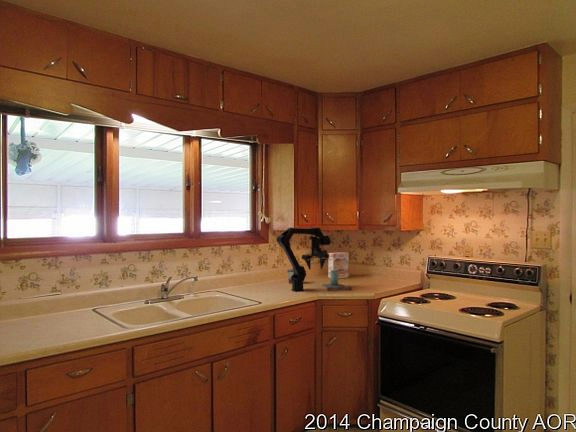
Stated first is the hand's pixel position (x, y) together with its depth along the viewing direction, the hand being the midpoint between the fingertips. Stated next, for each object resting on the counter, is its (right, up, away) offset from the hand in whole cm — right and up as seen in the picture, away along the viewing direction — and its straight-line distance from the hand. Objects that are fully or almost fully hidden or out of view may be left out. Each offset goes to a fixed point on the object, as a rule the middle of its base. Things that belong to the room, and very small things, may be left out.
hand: (315, 269), depth 267 cm
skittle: (+13, -12, +7) cm, 19 cm away
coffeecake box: (+21, -13, +44) cm, 50 cm away
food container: (-13, -13, +20) cm, 27 cm away
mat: (+13, -13, +7) cm, 20 cm away
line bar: (+15, -13, -5) cm, 21 cm away
